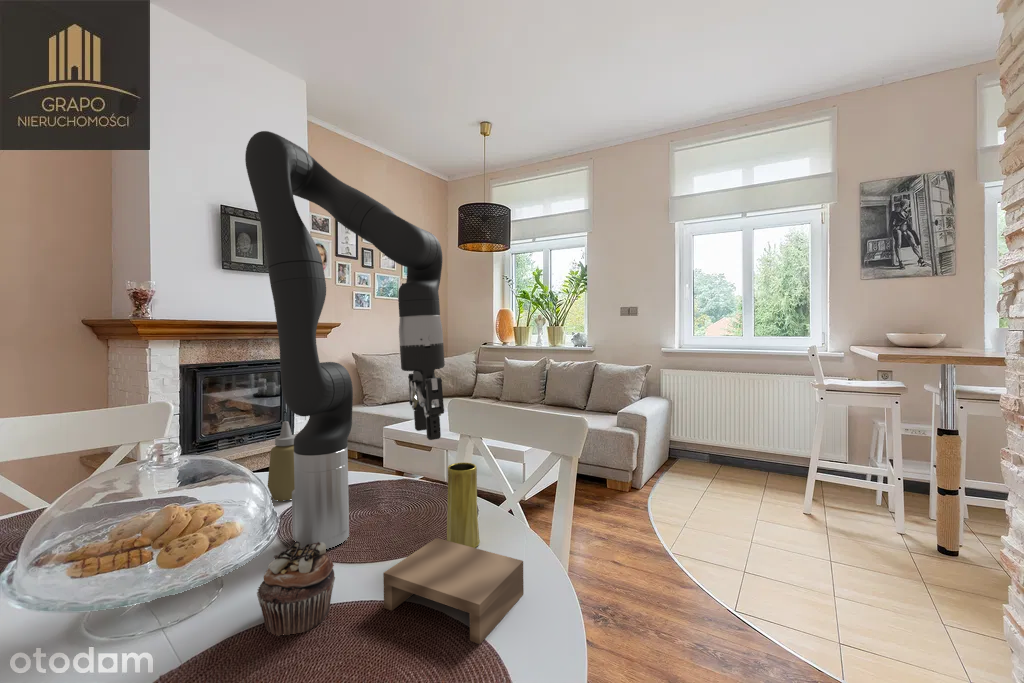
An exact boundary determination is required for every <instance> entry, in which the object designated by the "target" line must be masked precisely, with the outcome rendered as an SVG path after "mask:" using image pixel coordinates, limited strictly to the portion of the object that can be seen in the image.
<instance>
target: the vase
mask: <svg viewBox="0 0 1024 683" xmlns="http://www.w3.org/2000/svg"><path fill="white" fill-rule="evenodd" d="M477 471H478V469H477V465H476V464H475V463H472V462H455V463H451V464H449V465H448V466H447V514H446V516H447V517H446V519H447V520H446V541H450V542H454V543H458V544H461V545H465V546H469V547H473V548H476V549H477V547H478V546H479V545H480V542H481V541H480V532H479V521H478V520H479V518H478V506H477V505H478V487H477V486H478V483H477V482H478V481H477V480H478V478H477V476H478V472H477Z"/></svg>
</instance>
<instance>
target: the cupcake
mask: <svg viewBox="0 0 1024 683" xmlns="http://www.w3.org/2000/svg"><path fill="white" fill-rule="evenodd" d="M267 566H268V568H267V569H266V571H265V573H264V575H263V581H262V582H261V583H260V585H259V587H258V589H257V592H256V595H257V601H258V602H259V603H258V604H259V605H260V608H261V615H262V617H263V622H264V627H265V630H266V631H268V632H271V633H272V634H276V635H275V636H277V635H278V636H277V637H281V636H280V635H283V634H284V635H283V636H291V635H290V634H296V633H300V634H301V633H302V632H303V633H305V631H306V632H309V631H310V630H312V628H313V629H314V628H315V627H317V626H318V625H319V624H322V623H323V622H324V621H325V619H326V617H327V615H328V614H329V612H330V607H331V602H332V601H331V600H332V595H333V594H332V593H333V588H334V585H335V584H334V583H335V579H336V577H335V570H334V567H335V565H334V562H333V560H332V558H330V556H329V554H328V553H327V550H326V545H325V543H323V542H321V543H319V542H317V543H313V544H307V545H306V546H305V547H301V546H300V542H297V541H296V542H293V543H292V544H291V546H289V547H287V548H286V549H285V550H282V551H281V552H280V553H279V554H275V555H273V560H272V561H271V562H270V563H269V564H268V565H267ZM322 621H323V622H322ZM268 632H267V633H268ZM271 633H270V634H271ZM272 634H271V635H272ZM296 635H297V634H296Z"/></svg>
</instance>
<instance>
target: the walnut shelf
mask: <svg viewBox="0 0 1024 683" xmlns="http://www.w3.org/2000/svg"><path fill="white" fill-rule="evenodd" d="M382 575H383V608H384V609H386V610H389V611H391V612H393V611H394V610H395V609H396V608H398V607H399V606H400V605H401V604H403V603H404V602H405V601H407V600H408V599H409V598H411V596H413V595H416V596H419V597H422V598H425V599H427V600H431V601H434V602H436V603H440V604H443V605H444V606H445V605H446V606H448V607H450V608H454V609H455V610H459V611H461V612H465V613H468V614H469V641H470V642H472V643H475V644H477V645H481V644H482V643H483V641H484V640H486V638H487V637H488V636H489V635H490V633H492V631H493V630H494V629H495V628H496V627H497V625H498V624H499V623H500V622H501V621H502V620H503V618H504V617H505V616H506V615H507V614H508V613H509V612H510V611H511V609H512V608H513V607H514V606H515V605H516V603H517V602H519V600H520V599H521V598H522V597H523V596H524V589H525V588H524V561H523V559H518V558H514V557H510V556H507V555H502V554H499V553H495V552H491V551H487V550H483V549H479V548H477V547H476V548H473V547H469V546H465V545H461V544H458V543H454V542H450V541H447V539H441V538H437V537H436V538H434V539H433V540H431V541H430V542H428V543H426V544H425V545H423V546H422V547H420V548H419V549H418V550H415V552H413V553H411V554H410V555H408V556H407V557H405V558H404V559H402V560H400V561H399V562H397V564H394V565H393V566H392V567H390V568H388V569H387V570H385V571H384V572H383V574H382Z"/></svg>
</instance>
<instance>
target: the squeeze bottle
mask: <svg viewBox="0 0 1024 683" xmlns="http://www.w3.org/2000/svg"><path fill="white" fill-rule="evenodd" d="M281 424H282V425H281V429H280V435H279V436H277V437H275V438H274V447H272V448H271V449H270V453H269V454H270V455H269V465H268V475H267V476H268V477H267V487H268V490H269V492H270V495H271V498H272V500H273V499H274V500H278V501H277V502H284V501H283V500H290V499H292V491H293V490H295V481H294V438H295V436H296V435H293V433H292V430H291V425H290V423H289V421H286V420H285V421H282V423H281ZM274 500H273V501H274ZM290 501H291V500H290Z"/></svg>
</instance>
